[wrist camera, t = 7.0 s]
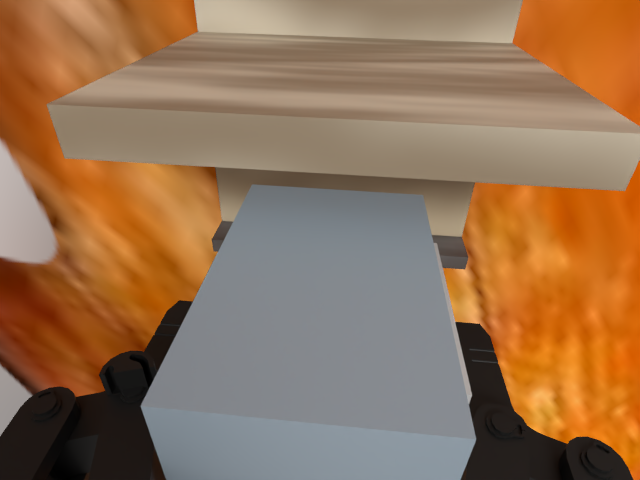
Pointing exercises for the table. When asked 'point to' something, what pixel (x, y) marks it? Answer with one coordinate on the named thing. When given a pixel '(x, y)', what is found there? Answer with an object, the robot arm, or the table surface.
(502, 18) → the grey slotted stand
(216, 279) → the grey rectangular block
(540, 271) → the table surface
